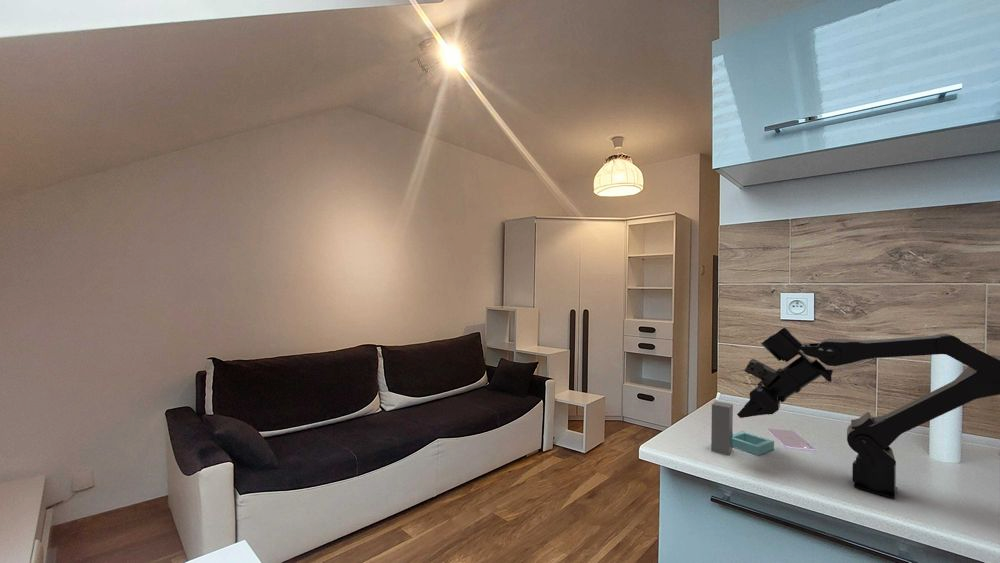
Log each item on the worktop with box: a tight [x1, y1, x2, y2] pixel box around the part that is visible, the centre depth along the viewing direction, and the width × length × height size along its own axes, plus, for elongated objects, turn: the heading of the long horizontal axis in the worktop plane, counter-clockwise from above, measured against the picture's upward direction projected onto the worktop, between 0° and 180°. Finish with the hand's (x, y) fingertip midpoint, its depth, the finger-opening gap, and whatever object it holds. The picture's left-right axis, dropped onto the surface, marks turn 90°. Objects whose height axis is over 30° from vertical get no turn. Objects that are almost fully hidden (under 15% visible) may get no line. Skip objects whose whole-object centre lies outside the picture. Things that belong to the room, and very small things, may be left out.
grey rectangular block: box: [710, 400, 734, 457], centre depth 109 cm, size 4×4×12 cm
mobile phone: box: [766, 428, 817, 452], centre depth 118 cm, size 8×1×15 cm
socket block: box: [732, 430, 775, 456], centre depth 112 cm, size 8×8×2 cm
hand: (742, 411), depth 106 cm, fingers open, 9 cm apart
